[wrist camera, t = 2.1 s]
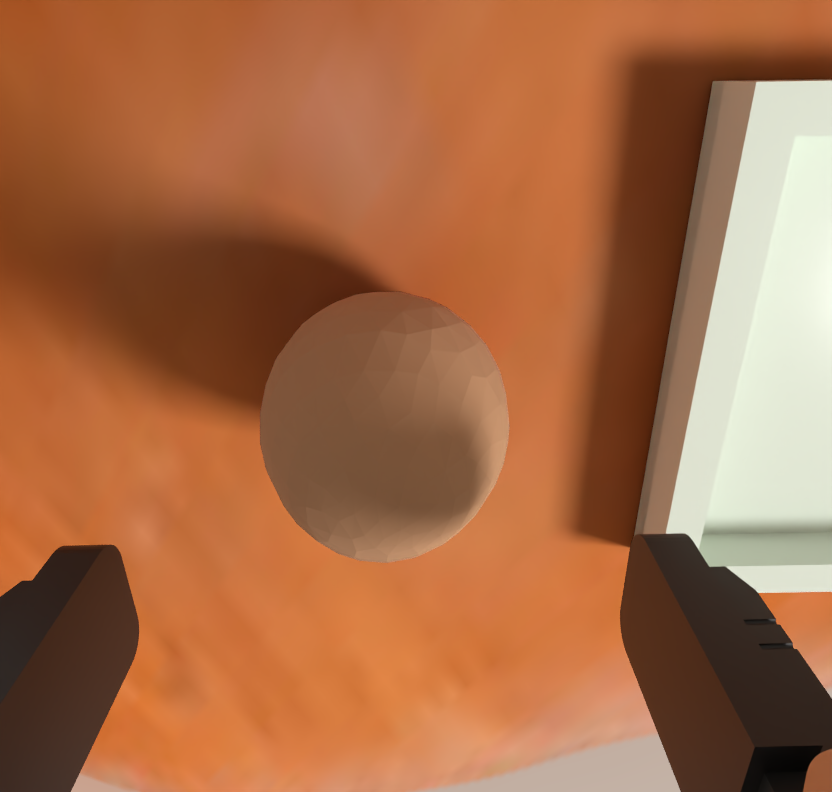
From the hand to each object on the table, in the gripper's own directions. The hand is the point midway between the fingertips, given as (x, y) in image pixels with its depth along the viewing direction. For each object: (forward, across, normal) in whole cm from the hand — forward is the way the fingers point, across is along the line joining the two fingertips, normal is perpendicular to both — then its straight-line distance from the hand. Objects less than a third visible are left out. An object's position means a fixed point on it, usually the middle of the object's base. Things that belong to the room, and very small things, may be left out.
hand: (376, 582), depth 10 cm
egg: (+8, 0, 0) cm, 8 cm away
